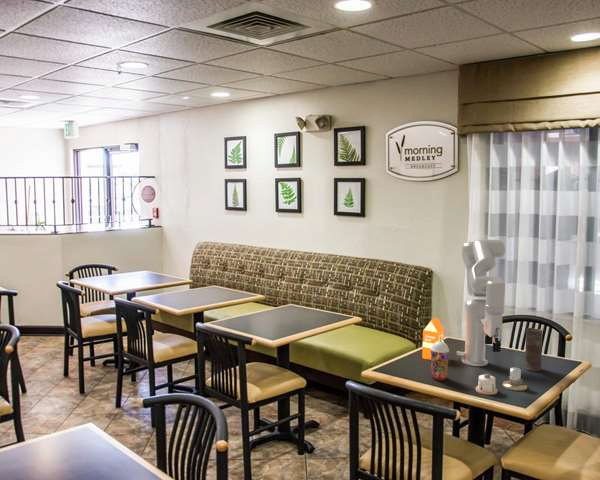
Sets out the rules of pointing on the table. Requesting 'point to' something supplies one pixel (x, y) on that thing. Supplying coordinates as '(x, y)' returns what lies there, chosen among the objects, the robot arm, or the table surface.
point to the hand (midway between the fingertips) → (492, 347)
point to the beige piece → (515, 380)
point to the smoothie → (439, 360)
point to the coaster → (486, 391)
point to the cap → (486, 382)
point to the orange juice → (431, 336)
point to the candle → (533, 349)
